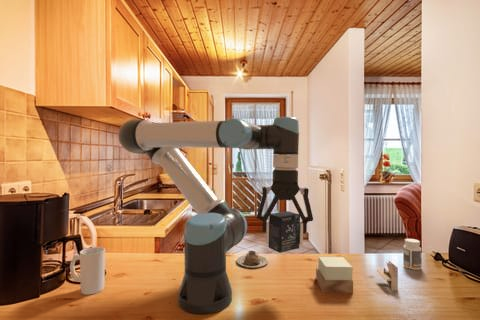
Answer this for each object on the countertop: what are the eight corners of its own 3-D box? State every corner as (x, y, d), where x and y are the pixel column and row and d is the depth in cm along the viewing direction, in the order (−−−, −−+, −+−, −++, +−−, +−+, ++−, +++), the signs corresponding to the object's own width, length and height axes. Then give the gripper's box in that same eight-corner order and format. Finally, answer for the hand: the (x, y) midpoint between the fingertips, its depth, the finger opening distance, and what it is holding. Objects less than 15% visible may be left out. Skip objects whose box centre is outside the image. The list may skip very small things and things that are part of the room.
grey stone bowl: (230, 263, 103) (230, 251, 103) (252, 255, 112) (252, 244, 112) (252, 273, 95) (252, 259, 95) (274, 263, 103) (274, 251, 103)
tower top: (325, 279, 81) (325, 266, 81) (318, 268, 89) (318, 256, 89) (352, 280, 80) (352, 267, 80) (342, 269, 88) (343, 257, 88)
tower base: (322, 293, 81) (322, 279, 81) (316, 279, 90) (316, 267, 90) (353, 294, 80) (353, 280, 80) (343, 280, 89) (343, 268, 89)
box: (280, 253, 77) (281, 216, 77) (268, 247, 81) (268, 213, 81) (300, 248, 81) (300, 213, 81) (287, 243, 86) (287, 210, 86)
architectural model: (386, 291, 82) (386, 267, 82) (376, 281, 89) (376, 258, 89) (398, 292, 82) (398, 267, 81) (387, 281, 88) (387, 259, 88)
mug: (109, 284, 85) (109, 246, 85) (98, 295, 78) (98, 254, 78) (77, 284, 85) (76, 246, 85) (63, 295, 78) (63, 254, 78)
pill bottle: (421, 266, 100) (421, 239, 100) (421, 271, 95) (422, 243, 95) (403, 262, 103) (403, 237, 103) (403, 268, 98) (403, 241, 98)
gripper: (248, 168, 78) (247, 245, 79) (325, 170, 76) (323, 249, 77) (249, 167, 86) (248, 237, 86) (320, 169, 84) (318, 240, 84)
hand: (284, 243), depth 81 cm, fingers closed on box, 9 cm apart
